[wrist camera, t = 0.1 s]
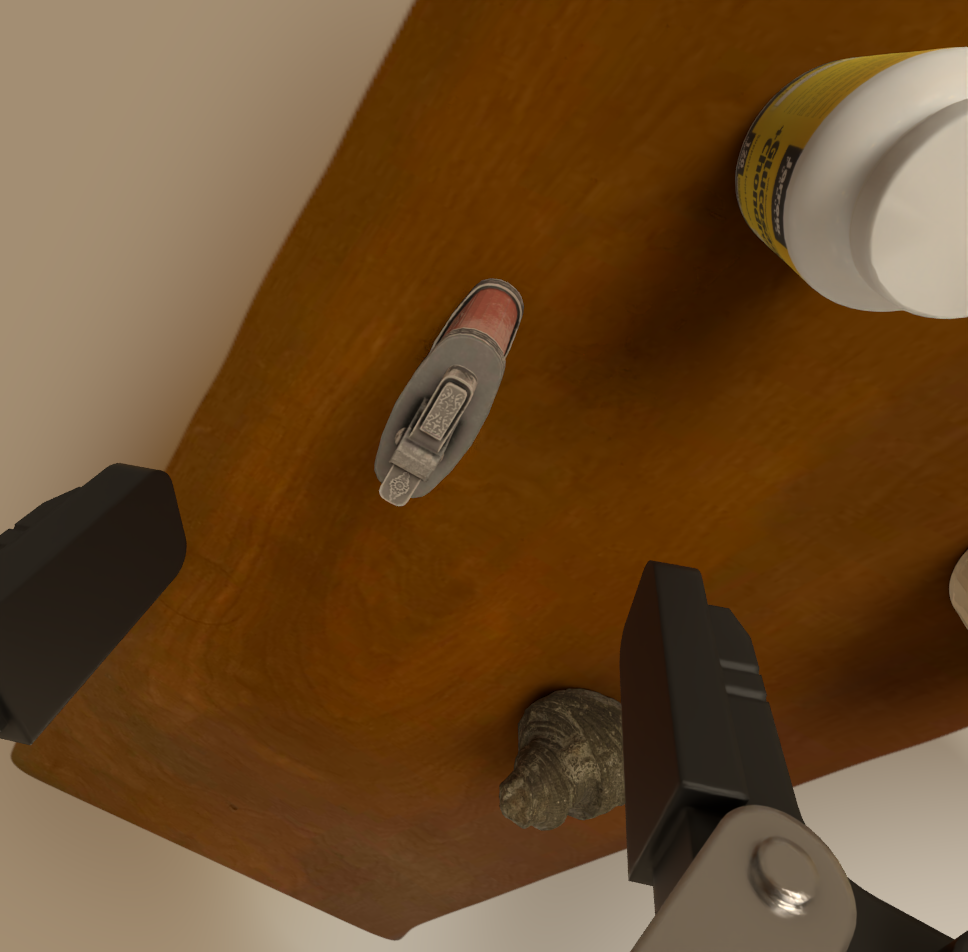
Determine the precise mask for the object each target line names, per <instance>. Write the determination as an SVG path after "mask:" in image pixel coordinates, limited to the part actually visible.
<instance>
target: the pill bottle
mask: <svg viewBox="0 0 968 952" xmlns="http://www.w3.org/2000/svg"><path fill="white" fill-rule="evenodd" d="M735 185H736V196H737V201H738V204H739V208H740V210H741V213H742V215H743V217H744V219H745V221H746V223H747V224H748V226H749V227H750V229H751V230H752V231H753V232H754V233H755V234H756V235H757V236H758V237H759V238H760V239H761V240H762V241H763V242H764V243H765V244H766V245H767V246H768V247H769V248H770V249H771V250H772V251H773V252H774V253H776V254H777V255H778V256H779V257H780V258H781V259H782V260H783V261H784V262H785V263H786V264H788V265H789V266H790V267H791V268H792V269H793V270H794V271H795V272H796V273H797V274H798V275H799V276H800V277H801V278H802V279H803V280H804V281H805V282H806V283H808V284H809V285H810V286H811V287H812V288H813V289H815V290H816V291H817V292H819V293H820V294H821V295H823V296H824V297H826V298H828V299H829V300H831V301H833V302H836V303H838V304H841V305H843V306H846V307H850V308H854V309H859V310H865V311H877V312H888V311H899V310H905V311H907V312H910V313H912V314H915V315H919V316H923V317H929V318H938V319H954V318H963V317H968V47H956V48H942V49H933V50H925V51H916V52H907V53H894V54H884V55H875V56H866V57H857V58H848V59H843V60H838V61H833V62H830V63H827V64H824V65H821V66H818V67H816V68H814V69H812V70H810V71H808V72H806V73H804V74H802V75H801V76H799V77H798V78H796V79H794V80H793V81H792V82H790V83H789V84H788V85H786V86H785V87H784V88H783V89H782V90H780V91H779V92H778V93H777V94H776V95H775V96H774V97H773V98H772V99H771V100H770V101H769V102H768V103H767V105H766V106H765V107H764V108H763V109H762V111H761V112H760V113H759V115H758V116H757V117H756V119H755V121H754V122H753V124H752V126H751V127H750V129H749V131H748V133H747V136H746V138H745V140H744V142H743V145H742V148H741V151H740V154H739V158H738V162H737V167H736V176H735Z"/></svg>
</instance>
